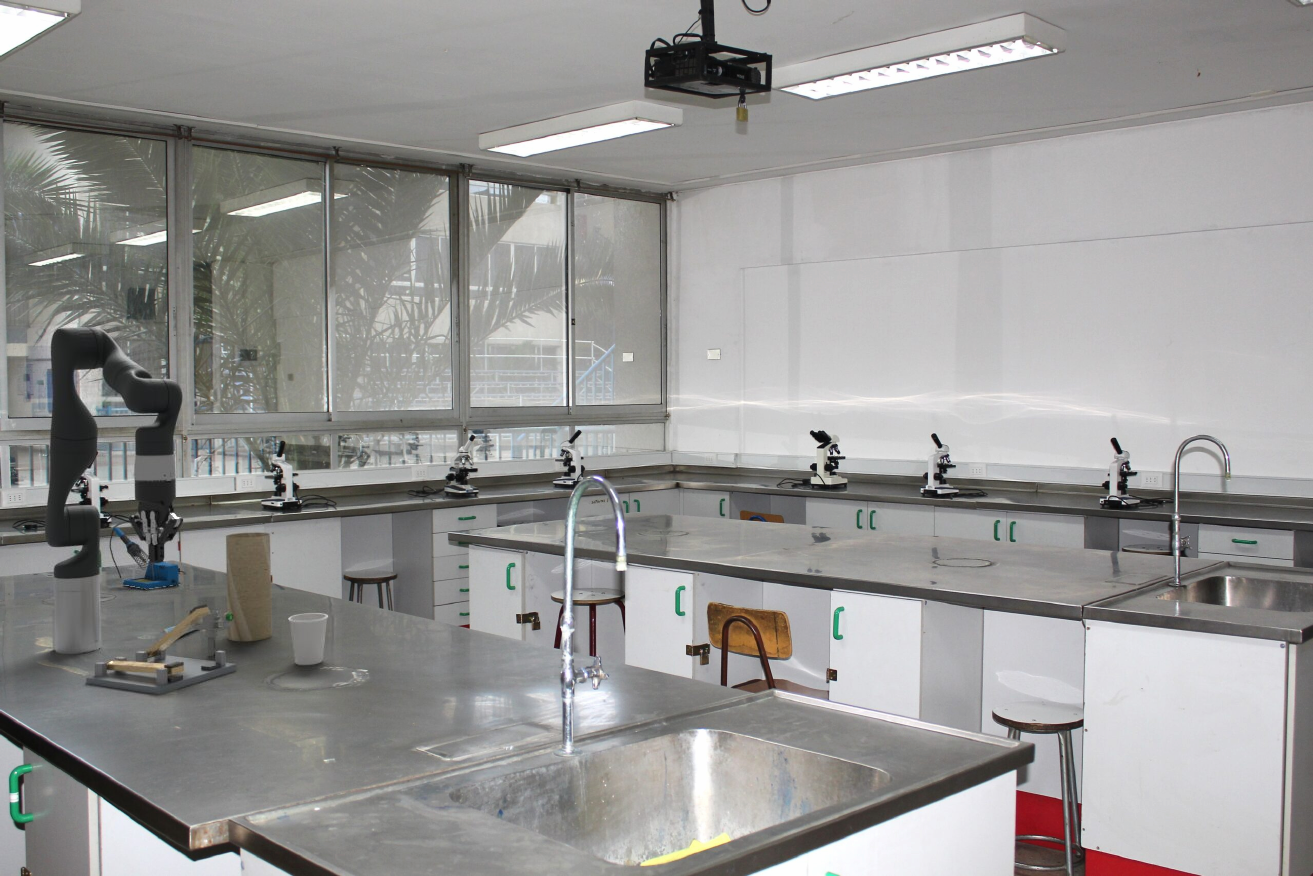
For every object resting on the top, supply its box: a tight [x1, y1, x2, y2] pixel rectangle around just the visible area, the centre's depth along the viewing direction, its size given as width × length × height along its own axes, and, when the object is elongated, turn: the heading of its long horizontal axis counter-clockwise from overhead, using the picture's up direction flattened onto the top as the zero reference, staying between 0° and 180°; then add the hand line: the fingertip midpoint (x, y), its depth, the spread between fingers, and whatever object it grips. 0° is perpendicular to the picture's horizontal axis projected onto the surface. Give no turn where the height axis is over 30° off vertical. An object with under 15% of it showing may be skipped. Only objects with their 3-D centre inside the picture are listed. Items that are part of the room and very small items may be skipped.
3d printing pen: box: [156, 625, 196, 642], centre depth 257 cm, size 19×3×3 cm, turn 174°
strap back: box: [145, 604, 211, 660], centre depth 223 cm, size 19×3×2 cm
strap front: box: [106, 659, 184, 675], centre depth 213 cm, size 19×3×2 cm, turn 68°
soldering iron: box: [109, 526, 186, 589], centre depth 337 cm, size 35×31×18 cm
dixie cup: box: [287, 612, 329, 666], centre depth 231 cm, size 8×8×10 cm
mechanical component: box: [188, 610, 233, 657], centre depth 236 cm, size 3×10×10 cm, turn 79°
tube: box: [225, 532, 273, 642], centre depth 255 cm, size 10×10×25 cm
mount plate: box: [85, 648, 237, 695], centre depth 218 cm, size 20×20×4 cm
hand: (156, 562), depth 213 cm, fingers closed
